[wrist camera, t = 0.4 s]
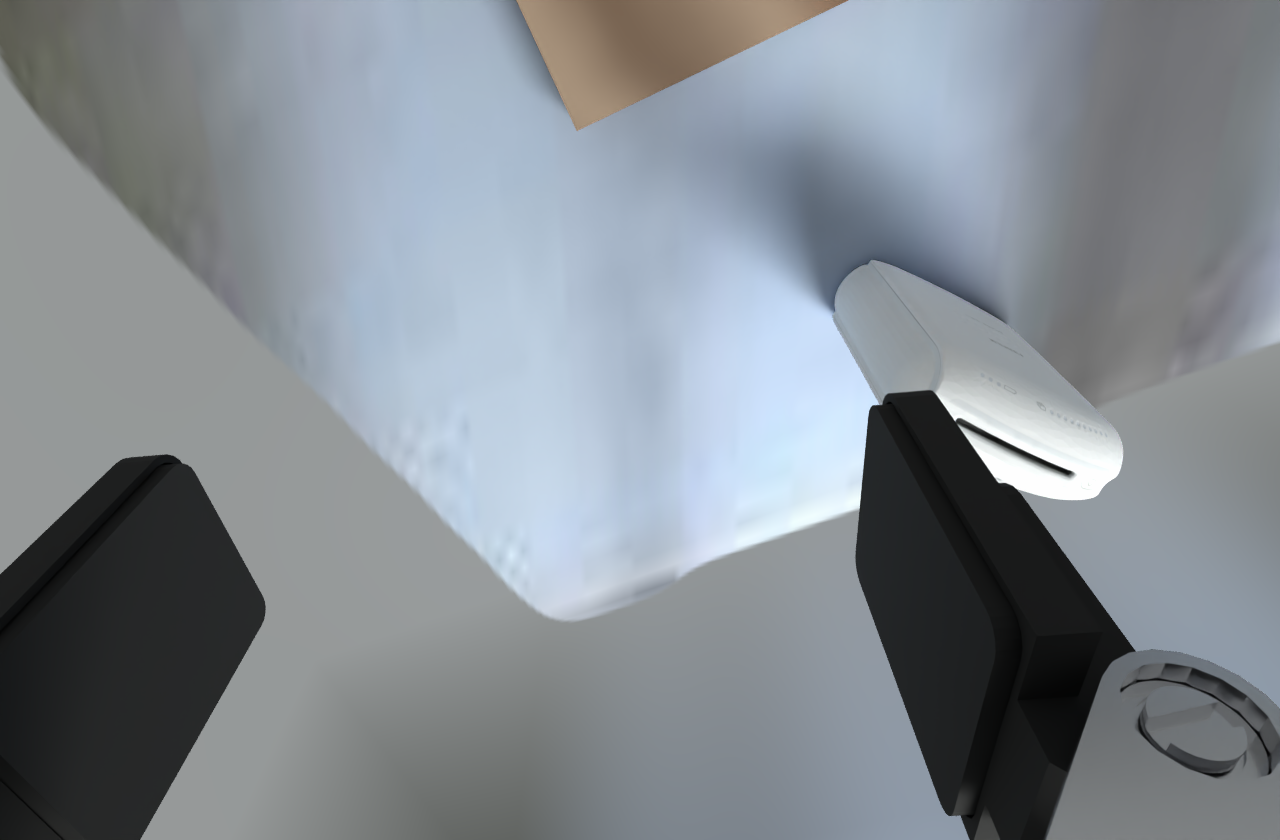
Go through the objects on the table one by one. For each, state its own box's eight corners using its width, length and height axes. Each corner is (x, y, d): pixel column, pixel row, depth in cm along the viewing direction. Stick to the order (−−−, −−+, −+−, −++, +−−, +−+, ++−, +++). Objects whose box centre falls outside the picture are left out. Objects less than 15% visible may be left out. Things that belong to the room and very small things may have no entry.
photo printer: (1025, 326, 37) (1174, 467, 27) (971, 389, 39) (1089, 542, 29) (865, 242, 35) (960, 361, 24) (816, 314, 37) (884, 452, 26)
